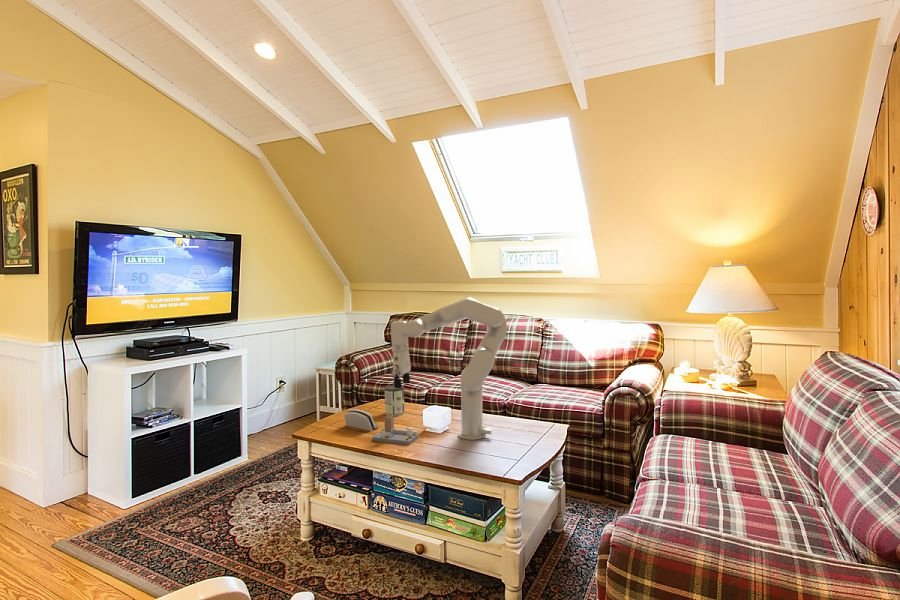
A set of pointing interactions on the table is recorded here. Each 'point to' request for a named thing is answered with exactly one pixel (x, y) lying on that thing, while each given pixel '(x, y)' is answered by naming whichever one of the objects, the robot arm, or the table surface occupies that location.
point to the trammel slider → (389, 427)
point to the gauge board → (398, 437)
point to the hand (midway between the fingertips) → (402, 385)
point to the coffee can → (394, 400)
